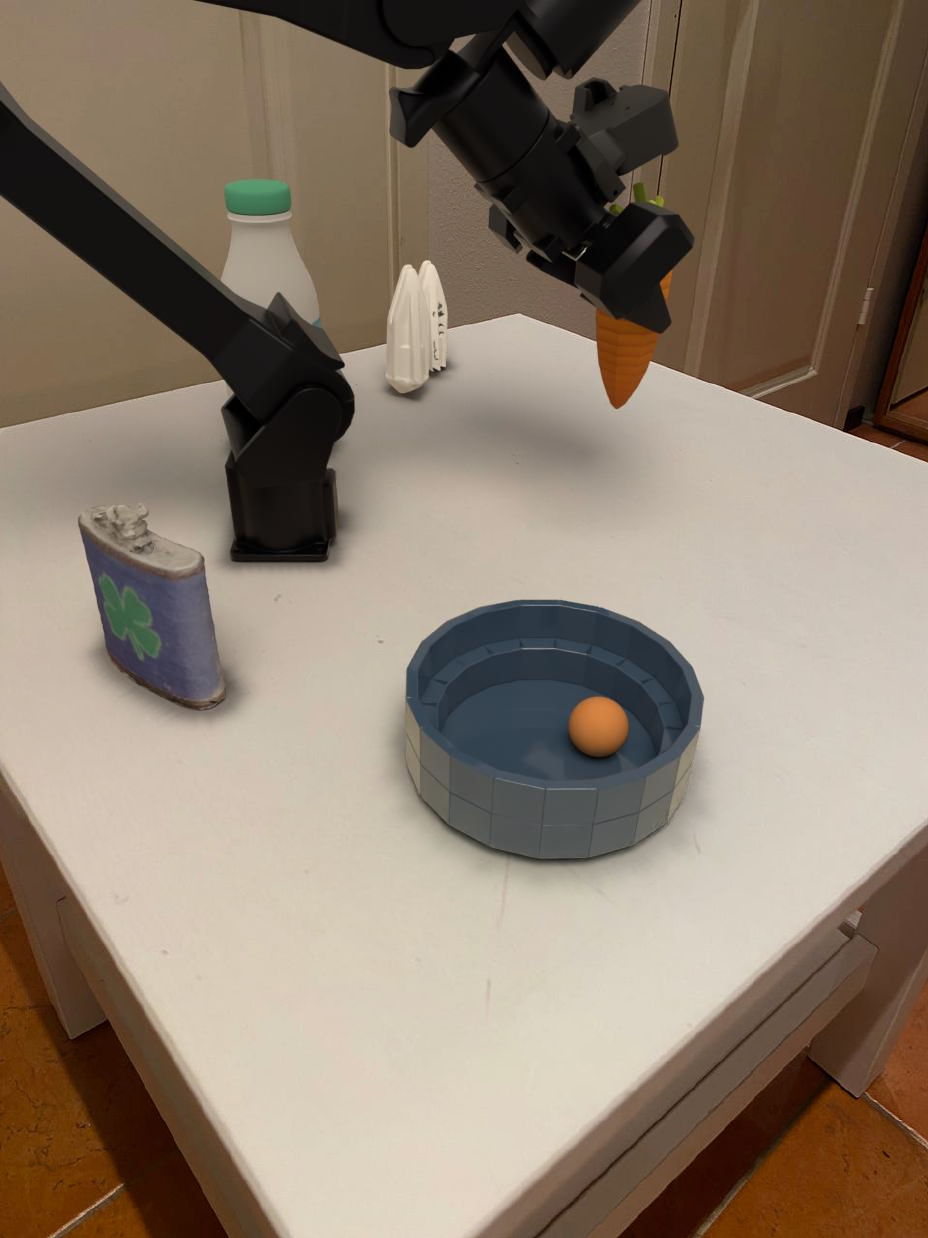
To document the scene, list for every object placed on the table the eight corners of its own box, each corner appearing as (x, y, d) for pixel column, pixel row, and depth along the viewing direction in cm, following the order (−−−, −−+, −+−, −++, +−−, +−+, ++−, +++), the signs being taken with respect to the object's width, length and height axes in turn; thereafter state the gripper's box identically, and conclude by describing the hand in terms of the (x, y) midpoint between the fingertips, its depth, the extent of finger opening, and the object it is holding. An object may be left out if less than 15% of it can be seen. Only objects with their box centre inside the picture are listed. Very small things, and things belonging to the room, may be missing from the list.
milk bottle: (314, 470, 74) (292, 197, 62) (220, 461, 75) (182, 191, 63) (340, 430, 80) (325, 176, 68) (253, 423, 81) (224, 170, 69)
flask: (236, 694, 51) (208, 524, 45) (193, 722, 49) (158, 549, 43) (135, 630, 56) (97, 468, 50) (91, 653, 54) (46, 488, 48)
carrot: (641, 427, 65) (676, 197, 57) (574, 414, 67) (598, 188, 58) (657, 402, 69) (692, 183, 61) (593, 391, 71) (618, 175, 62)
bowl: (404, 869, 42) (402, 790, 39) (409, 671, 53) (408, 599, 50) (717, 865, 42) (738, 787, 39) (654, 670, 54) (667, 598, 51)
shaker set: (421, 405, 85) (421, 280, 78) (377, 400, 85) (373, 276, 79) (452, 360, 94) (454, 245, 88) (412, 356, 95) (411, 242, 89)
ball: (569, 769, 46) (575, 724, 45) (562, 728, 49) (567, 684, 47) (629, 769, 46) (637, 724, 45) (619, 728, 49) (626, 684, 47)
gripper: (693, 44, 46) (820, 262, 56) (542, 20, 61) (664, 197, 70) (536, 219, 49) (684, 399, 58) (425, 157, 63) (559, 310, 72)
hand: (646, 316), depth 65 cm, fingers closed on carrot, 5 cm apart
